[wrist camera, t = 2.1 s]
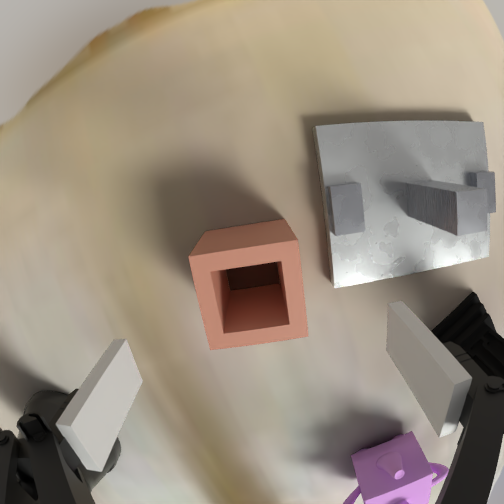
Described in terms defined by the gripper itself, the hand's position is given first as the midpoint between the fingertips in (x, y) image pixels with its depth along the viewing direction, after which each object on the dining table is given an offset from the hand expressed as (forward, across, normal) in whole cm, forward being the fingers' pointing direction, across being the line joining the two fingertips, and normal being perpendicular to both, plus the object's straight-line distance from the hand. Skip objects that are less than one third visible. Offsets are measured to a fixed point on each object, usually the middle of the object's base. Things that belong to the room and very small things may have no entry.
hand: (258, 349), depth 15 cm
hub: (+14, 0, 0) cm, 14 cm away
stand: (+15, +16, +4) cm, 22 cm away
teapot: (+15, +14, -32) cm, 38 cm away
